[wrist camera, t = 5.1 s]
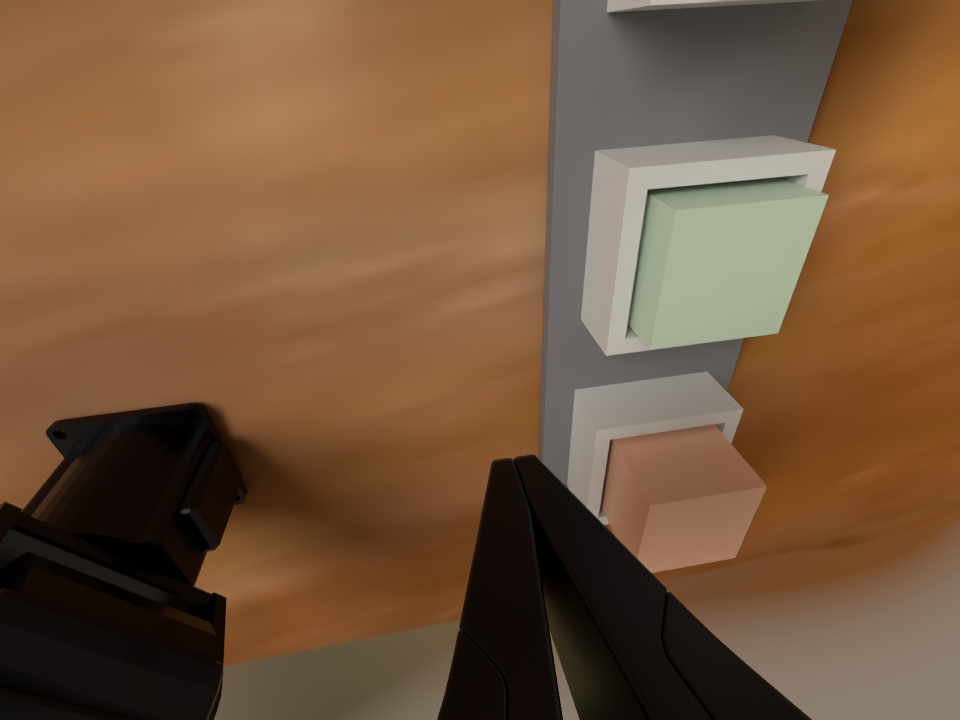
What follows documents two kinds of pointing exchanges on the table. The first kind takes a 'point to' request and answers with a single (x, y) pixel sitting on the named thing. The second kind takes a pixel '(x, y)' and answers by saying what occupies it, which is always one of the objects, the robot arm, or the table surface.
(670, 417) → the button panel
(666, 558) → the terracotta button
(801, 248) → the sage button
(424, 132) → the table surface
